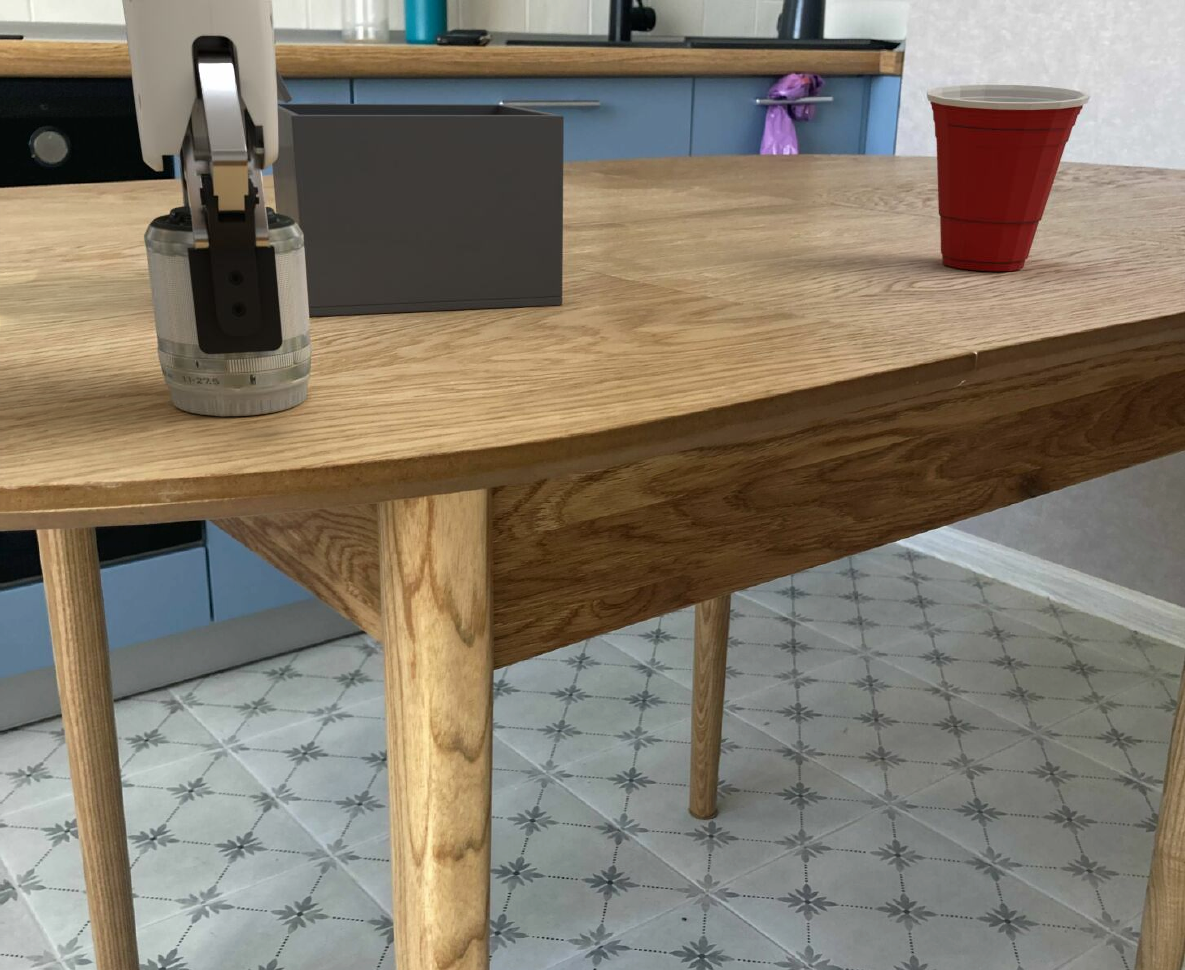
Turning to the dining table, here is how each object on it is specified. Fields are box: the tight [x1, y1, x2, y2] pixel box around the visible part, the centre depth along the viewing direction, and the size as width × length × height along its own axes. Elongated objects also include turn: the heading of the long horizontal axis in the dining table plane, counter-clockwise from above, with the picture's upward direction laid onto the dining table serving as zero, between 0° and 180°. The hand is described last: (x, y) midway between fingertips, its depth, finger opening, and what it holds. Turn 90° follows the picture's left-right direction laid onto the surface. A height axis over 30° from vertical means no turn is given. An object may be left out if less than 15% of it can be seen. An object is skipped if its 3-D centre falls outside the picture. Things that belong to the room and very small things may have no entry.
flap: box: [276, 67, 293, 104], centre depth 69 cm, size 7×13×1 cm
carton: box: [271, 102, 565, 318], centre depth 76 cm, size 15×13×10 cm
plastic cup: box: [926, 84, 1091, 272], centre depth 88 cm, size 11×11×12 cm
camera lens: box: [143, 205, 313, 417], centre depth 52 cm, size 6×6×8 cm
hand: (234, 328), depth 53 cm, fingers closed on camera lens, 6 cm apart
